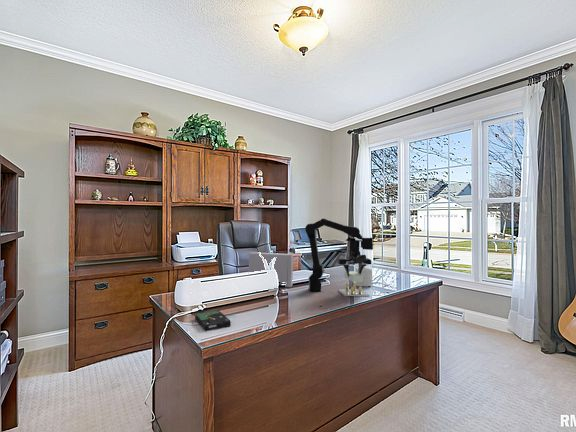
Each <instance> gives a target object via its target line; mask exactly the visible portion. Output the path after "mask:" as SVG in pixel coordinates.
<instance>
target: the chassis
mask: <svg viewBox="0 0 576 432" xmlns="http://www.w3.org/2000/svg"><path fill="white" fill-rule="evenodd" d="M352 283H353V284H352V285H351V286H350V285H349V282H346V283H345V288H342V289H339V288H338V292H339V293H340V294H341V293H342V294H343V297H345V296H356V297H370V293H368V292H367V291H365V290H364V289H363V286H358V289H357V286H356V282H352ZM342 294H341V295H342Z"/></svg>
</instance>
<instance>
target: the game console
mask: <svg viewBox="0 0 576 432" xmlns="http://www.w3.org/2000/svg"><path fill="white" fill-rule="evenodd" d="M259 253H261V255H262V256H263V257H264V258H265V259H266V260H267V263H268V264H269V263H270V261H271V259H272V258H274V257H277V258H276V261H275V264H274V268H275V270H276V272H277V274H278V279H279V282H287V284H286V285H285V287H284V288H292V287H293V283H292V280H293V279H294V278H293V276H294V275H293V274H294V272H293V271H294V269H293V268H294V254H293V253H277V252H275V253H274V252H254V251H253V252H251V251H250V252H249V253H248V273H249V272H254V271H261V270H264V269H265V268H264V263H263V261H262V258H261V257H260V256H259Z"/></svg>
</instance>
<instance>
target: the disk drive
mask: <svg viewBox="0 0 576 432" xmlns="http://www.w3.org/2000/svg"><path fill="white" fill-rule="evenodd" d="M194 320H195V321H196V322H197V323H198V324H199V326H200V327H201V329H202V330H204V331H205V332H207V331H212V330H218V329H224V328H229V327H231V323H232V321H231V320H230V318H228V317H227V316H226V315H225V314H223V313H222V312H221V311H220V310H211V311H207V312H201V313H195V315H194Z"/></svg>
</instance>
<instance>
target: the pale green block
mask: <svg viewBox="0 0 576 432" xmlns="http://www.w3.org/2000/svg"><path fill="white" fill-rule="evenodd" d="M344 278H345V279H347V280H349V281H350V282H352V283H356V282H363V275H361V274H359V273H357V272H356V270H355V271H353V270H349V277H348V276H347V273H346V270H345V271H344Z"/></svg>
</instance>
